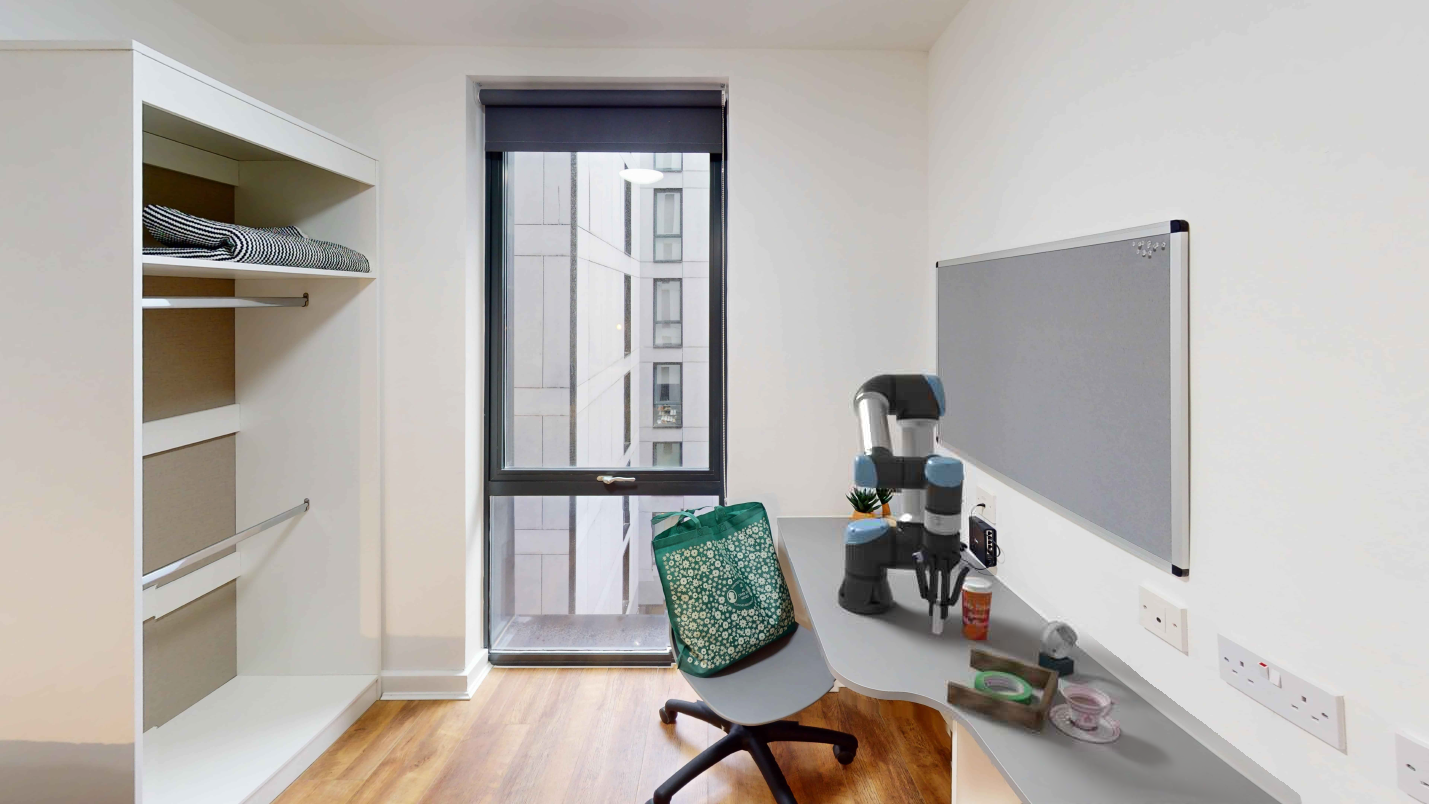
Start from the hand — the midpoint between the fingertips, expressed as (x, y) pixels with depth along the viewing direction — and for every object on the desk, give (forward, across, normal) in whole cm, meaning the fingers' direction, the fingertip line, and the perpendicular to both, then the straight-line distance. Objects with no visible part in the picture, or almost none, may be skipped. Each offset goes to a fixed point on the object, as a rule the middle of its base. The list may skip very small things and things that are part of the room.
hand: (937, 630), depth 142 cm
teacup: (+10, +29, -2) cm, 31 cm away
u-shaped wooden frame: (+10, +14, -1) cm, 17 cm away
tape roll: (+10, +14, -1) cm, 17 cm away
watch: (+10, +22, +17) cm, 29 cm away
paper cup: (+11, +2, +23) cm, 26 cm away
